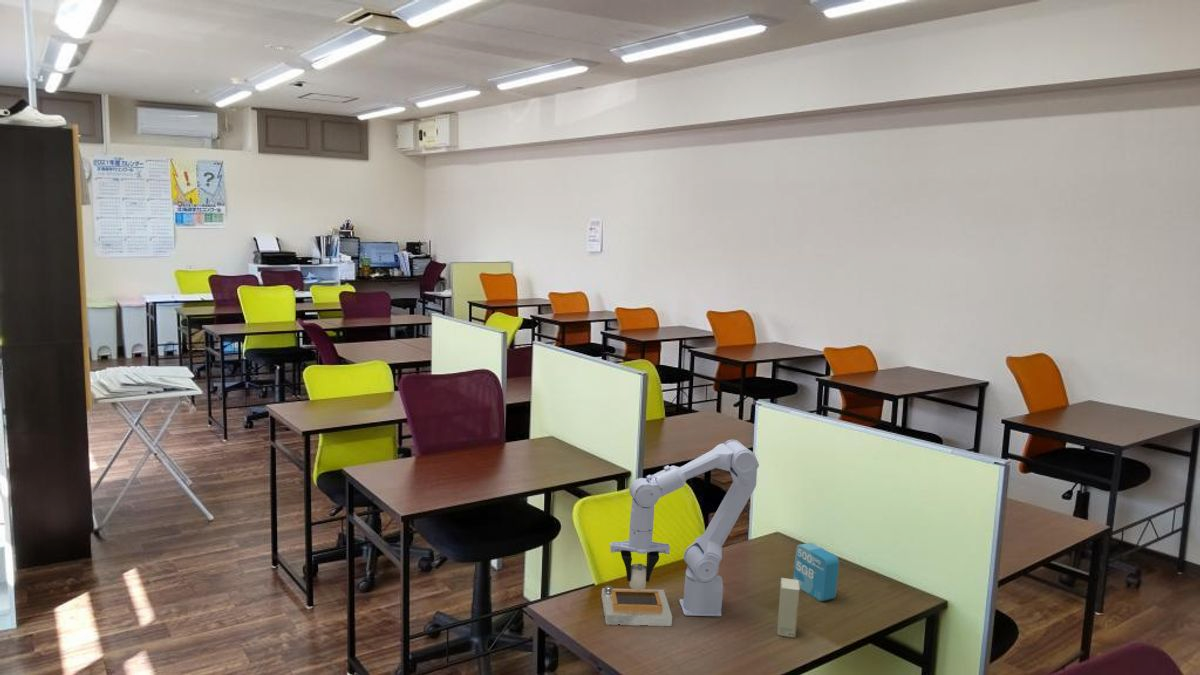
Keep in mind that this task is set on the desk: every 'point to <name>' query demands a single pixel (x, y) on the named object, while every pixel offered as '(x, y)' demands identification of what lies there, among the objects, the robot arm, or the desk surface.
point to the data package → (816, 571)
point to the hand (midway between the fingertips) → (637, 579)
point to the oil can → (638, 576)
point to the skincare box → (788, 607)
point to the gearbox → (635, 607)
